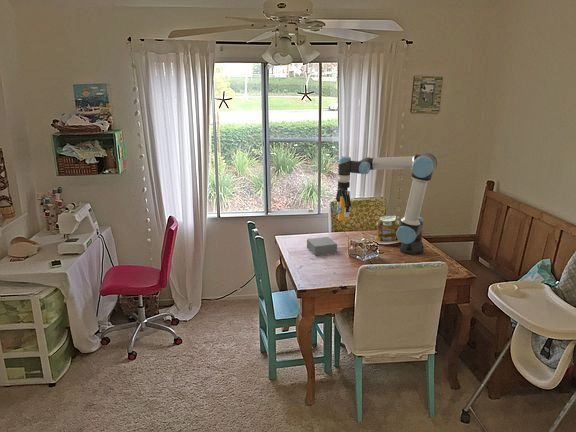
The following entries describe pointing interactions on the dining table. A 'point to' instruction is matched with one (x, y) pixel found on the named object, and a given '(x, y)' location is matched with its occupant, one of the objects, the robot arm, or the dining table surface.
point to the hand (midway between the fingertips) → (342, 214)
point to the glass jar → (387, 230)
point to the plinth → (322, 246)
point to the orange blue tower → (341, 209)
